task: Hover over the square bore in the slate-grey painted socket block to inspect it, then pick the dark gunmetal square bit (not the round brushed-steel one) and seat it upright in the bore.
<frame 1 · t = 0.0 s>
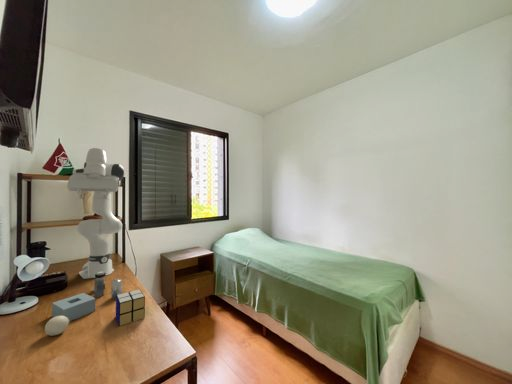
hand: (93, 198, 105), 54 cm above the table, tool tilted 30°, fingers open, 8 cm apart
socket block: (74, 313, 100), on the table
round bit: (116, 297, 117), on the table
push button: (98, 290, 126), on the table
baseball: (57, 333, 86), on the table
square bit: (98, 295, 118), on the table
puzzle cube: (130, 318, 97), on the table
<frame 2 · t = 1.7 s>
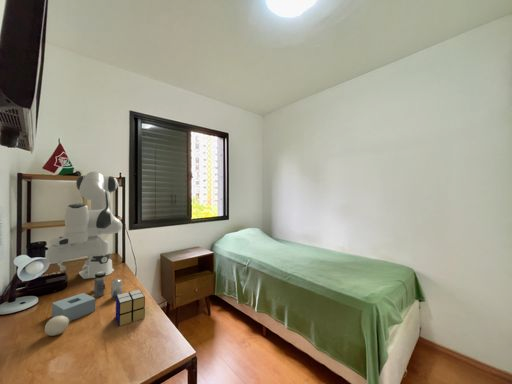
hand: (75, 267, 101), 21 cm above the table, tool pointing down, fingers open, 8 cm apart
nothing on the table moved.
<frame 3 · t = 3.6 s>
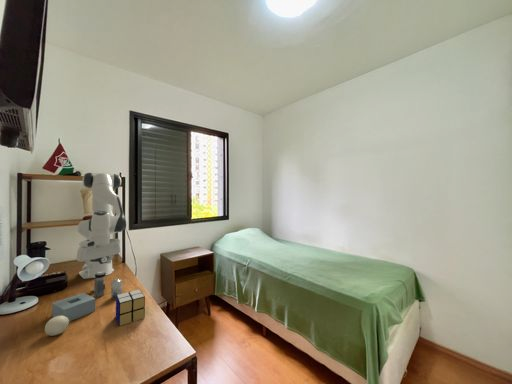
hand: (99, 265, 118), 17 cm above the table, tool pointing down, fingers open, 8 cm apart
nothing on the table moved.
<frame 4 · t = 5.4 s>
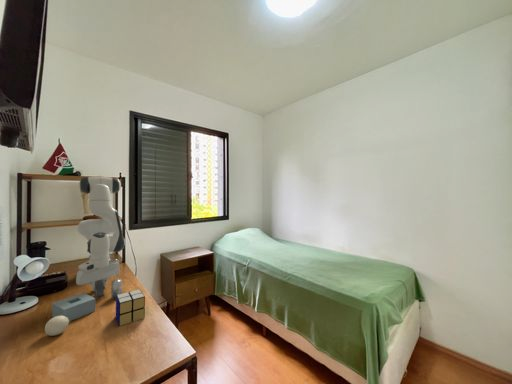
hand: (99, 287, 118), 5 cm above the table, tool pointing down, fingers closed on square bit, 3 cm apart
square bit: (98, 295, 118), on the table, touching gripper
everything else where it was.
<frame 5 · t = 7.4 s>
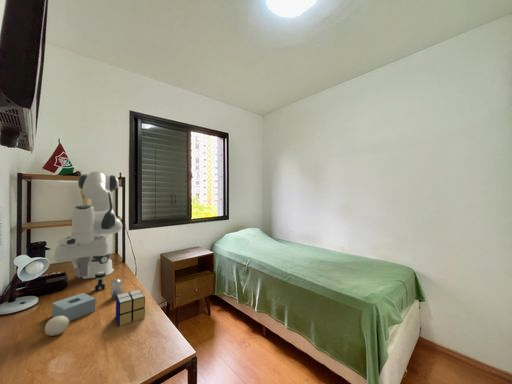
hand: (81, 266, 104), 21 cm above the table, tool pointing down, fingers closed on square bit, 3 cm apart
square bit: (81, 276, 104), point 16 cm above the table, touching gripper
everything else where it was.
when the fingers open (7 cm above the table, at t = 9.8 s): square bit drops 1 cm, resting on socket block.
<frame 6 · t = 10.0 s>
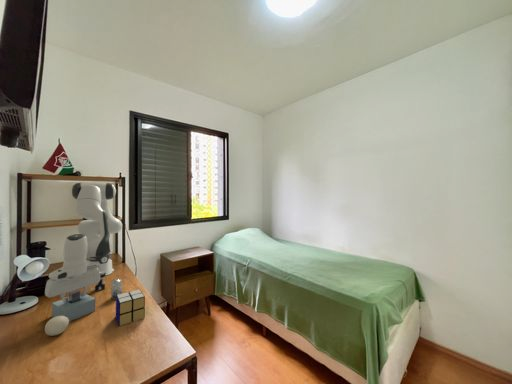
hand: (74, 299, 100), 7 cm above the table, tool pointing down, fingers open, 5 cm apart
square bit: (74, 311, 100), point 1 cm above the table, touching socket block
everything else where it was.
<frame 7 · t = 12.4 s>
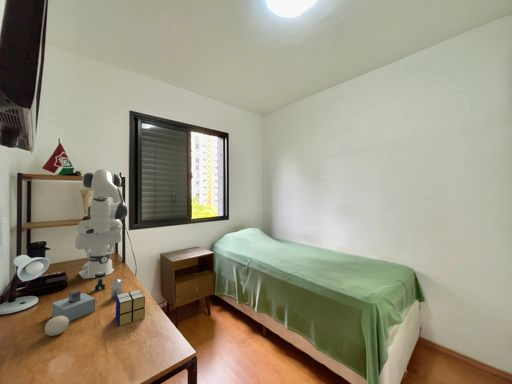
hand: (99, 254, 113), 24 cm above the table, tool pointing down, fingers open, 8 cm apart
nothing on the table moved.
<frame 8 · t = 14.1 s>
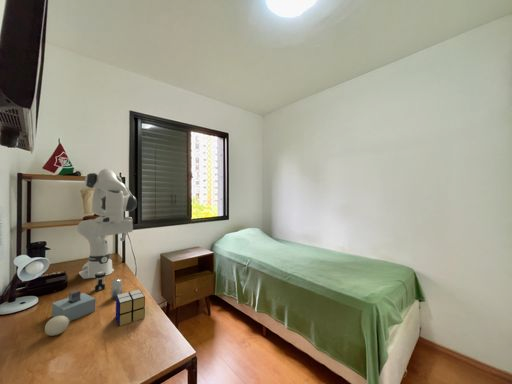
hand: (113, 242, 121), 29 cm above the table, tool pointing down, fingers open, 8 cm apart
nothing on the table moved.
at the end: square bit 0.0 cm off-centre on the socket block, point 1.0 cm above the socket block's base; square bit tilted 0°; the gripper is holding nothing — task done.
